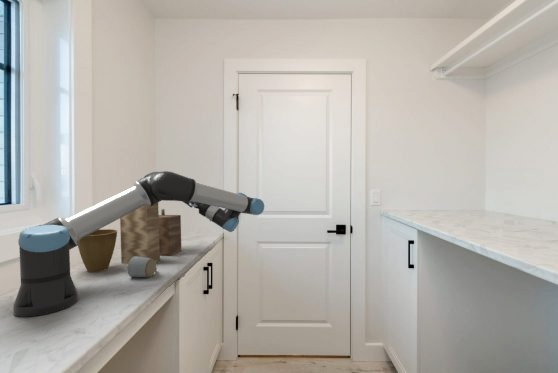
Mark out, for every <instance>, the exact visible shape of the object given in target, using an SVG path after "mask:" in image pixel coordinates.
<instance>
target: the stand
mask: <svg viewBox="0 0 558 373" xmlns="http://www.w3.org/2000/svg"><path fill="white" fill-rule="evenodd" d="M159 212H160V210H159V202H158V203H156V204H154V205H152V206H150V207H147V206H142V207H141V208H139V209H137V210H135V211H133V212H131V213H129V214H127V215H125V216H123V217H122V218H120V219H119V224H120V225H119V226H120V229H119V230H120V254H121V256H120V257H121V264H123V265H124V264H127V265H128V263H129V261H130V259H131V258H133V257H135V256H137V257H144V258H151V259H154V260H155V262H156V263H157V262H158V261H160V260H161V256H160V249H159V215H160V214H159Z"/></svg>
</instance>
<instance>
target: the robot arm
mask: <svg viewBox="0 0 558 373" xmlns="http://www.w3.org/2000/svg"><path fill="white" fill-rule="evenodd" d="M161 201H167V202H168V201H171V202H172V201H173V202H182V203H184V204H185V205H186V206H189V208H195V209H198V214H199V215H201V216H203V217H205V218H206V219H208V220H209V222H212V223H214V224H216V225H217V226H219V227H220V228H222V229H223V230H226V231H227V232H229V233H233V232H234V231H235V230H236V229H237V227H238V225H239V224H240V220H239V218H238V217H240V215H241V214H247V215H253V216H259V215H261V214H263V212H264V210H265V203H264V201H263V200H262V199H260V198H256V197H254V198H253V197H250V196H248V195H246V194H245V193H242V192H237V193H234V192H231V191H229V190H225V189H224V190H223V189H221V188H217V187H213V186H210V185H206V184H201V183H198V182H197V181H196V179H195V178H190V177H187V176H184V175H181V174H179V173H175V172H173V171H168V170H166V171H164V170H163V171H152V172H149V173H147V174H146V175H144V176H143V177H141V178H139V179H138V180H135V181H134V182H133V184H132V187H129V188H127V189H126V190H123V191H121V192H119V193H117V194H115V195H112V196H110V197H109V198H106V199H105V200H103V201H100V202H98V203H96V204H94V205H92V206H90V207H87V208H86V209H84V210H81V211H80V212H77V213H74V214H73V215H71V216H68V217H66V218H65V217H60V216H59V217H57V218H54V219H52V220H50V221H48V222H46V223H44V224H39V225H35V226H32V227H29V228H25V229H23V230H22V231H21V232H20V233H19V235H18V236H19V237H18V240H17V242H18V247H19V270H20V272H19V273H20V286H19V288H18V292H17V294H16V297H15V300H14V303H13V315H15V316H17V317H23V318H25V317H26V318H28V317H38V316H44V315H48V314H53V313H56V312H58V311H61V310H64V309H67V308H68V307H71V306H72V305H74V304H76V303H77V302H78V300H79V292H78V290H77V288H76V285H75V283H74V281H73V278H72V276H71V260H70V250H72V249H75V247H78V243H79V241H80V239H82V238H84V237H85V236H87V235H89V234H91V233H93V232H95V231H97V230H101V229H102V228H103V229H104V228H105V227H106V226H108V225H110V224H112V223H114V222H116V221H118V220H120V218H122V217H123V216H125V215H127V214H129V213H131V212H133V211H135V210H137V209H139V208H141V207H142V206H147V207H150V206H152V205H154V204H156V203H158V204H159V203H160V202H161Z"/></svg>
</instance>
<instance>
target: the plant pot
mask: <svg viewBox="0 0 558 373" xmlns="http://www.w3.org/2000/svg"><path fill="white" fill-rule="evenodd" d="M117 237H118V230H117V229H111V228H109V229H108V228H107V229H105V228H103V229H102V228H101V229H99V230H97V231H95V232H93V233H91V234H89V235H87V236H85V237H84V238H82V239H80V241H79V243H78V246H77V247H78V251H79V255H80V257H81V260H82V263H83V265H84V267H85V270H87V272H88V273H99V272H103V271H106V270H107V269H109V267H110V264H111V261H112V258H113V254H114V251H115V246H116V242H117Z"/></svg>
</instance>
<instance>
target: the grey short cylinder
mask: <svg viewBox="0 0 558 373" xmlns="http://www.w3.org/2000/svg"><path fill="white" fill-rule="evenodd" d="M126 268H127V269H126V270H127V271H126V272H127V275H128V276H129V277H130V278H150V277H152V276H154V274H155V272H157V261H156V262H155V260H154V259H151V258H144V257H137V256H135V257H133V258H131V259H130V261H129V263H128V264H127V267H126Z"/></svg>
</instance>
